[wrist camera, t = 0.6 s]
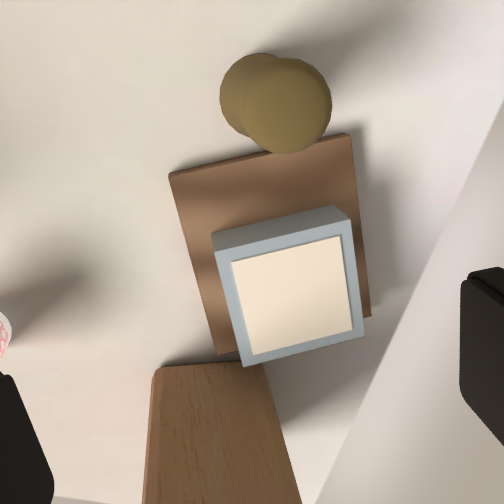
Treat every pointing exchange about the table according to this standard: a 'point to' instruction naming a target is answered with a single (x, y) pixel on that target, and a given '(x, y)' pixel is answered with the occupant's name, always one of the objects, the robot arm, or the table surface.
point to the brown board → (262, 210)
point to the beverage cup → (4, 334)
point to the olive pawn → (276, 102)
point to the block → (215, 438)
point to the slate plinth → (290, 283)
